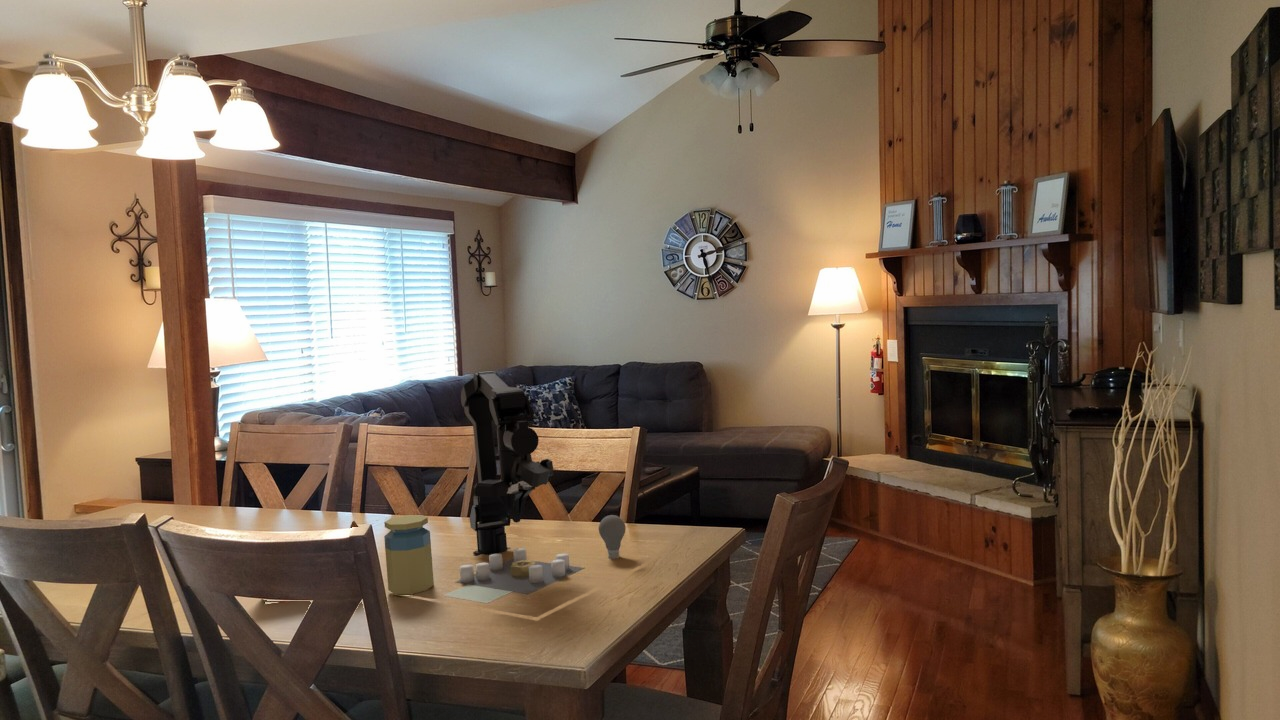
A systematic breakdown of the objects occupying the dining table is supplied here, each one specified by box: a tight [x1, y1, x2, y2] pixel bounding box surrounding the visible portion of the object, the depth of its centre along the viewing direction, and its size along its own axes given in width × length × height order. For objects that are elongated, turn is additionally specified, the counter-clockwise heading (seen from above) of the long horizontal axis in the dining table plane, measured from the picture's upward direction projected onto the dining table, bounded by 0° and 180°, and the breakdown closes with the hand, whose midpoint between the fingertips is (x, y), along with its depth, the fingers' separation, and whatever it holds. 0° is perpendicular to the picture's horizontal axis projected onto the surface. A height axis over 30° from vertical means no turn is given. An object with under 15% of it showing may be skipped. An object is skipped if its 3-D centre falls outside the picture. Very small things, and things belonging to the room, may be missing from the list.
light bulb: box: [598, 514, 627, 560], centre depth 203 cm, size 6×6×10 cm
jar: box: [383, 514, 435, 596], centre depth 189 cm, size 9×9×15 cm
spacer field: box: [454, 547, 585, 595], centre depth 193 cm, size 20×19×4 cm
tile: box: [442, 584, 512, 604], centre depth 183 cm, size 12×8×1 cm, turn 57°
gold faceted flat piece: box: [510, 559, 535, 578], centre depth 194 cm, size 6×5×2 cm
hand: (516, 522), depth 193 cm, fingers closed
